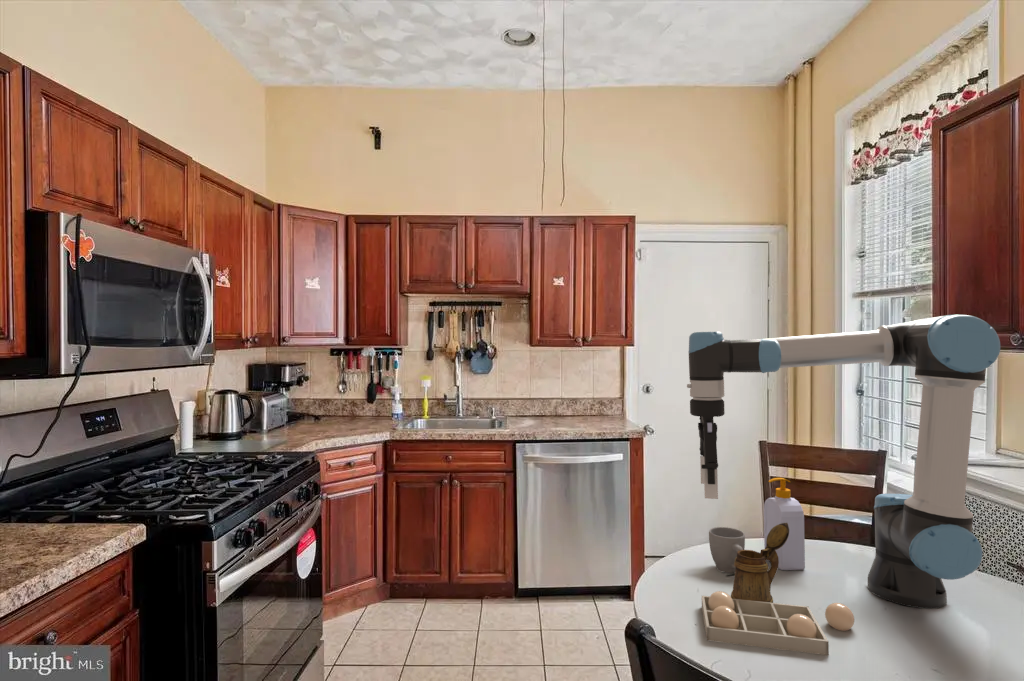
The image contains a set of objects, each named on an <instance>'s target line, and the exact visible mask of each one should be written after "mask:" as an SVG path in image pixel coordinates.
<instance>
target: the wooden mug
mask: <svg viewBox="0 0 1024 681" xmlns="http://www.w3.org/2000/svg"><path fill="white" fill-rule="evenodd" d="M788 536H789V526H788V523H781V524H778V525H776V526H775V527H773V528H772V529H771V530H770V532H769V534H768V536H767V541H766V548H765V547H764V548H763V549H761V550H760V552H758V551H756V550H752V549H744V550H739V551H738V552H737V557H736V558H735V562H734V566H735V573H734V578H733V585H732V591H731V593H730V597H731V598H732V599H741V600H750V601H760V602H770V603H774V598H773V596H772V594H771V587H772V582H773V580H774V578H775V576H776V574H777V572H778V570H779V568H778V564H779V560H778V555H777V553H776V551H775V550H777V549H779V548H781V547H782V546H783V545H784V544H785V542H786V541H787V539H788ZM768 560H769V561H768ZM767 562H770V567H769V564H768V563H767Z"/></svg>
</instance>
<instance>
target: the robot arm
mask: <svg viewBox="0 0 1024 681" xmlns="http://www.w3.org/2000/svg"><path fill="white" fill-rule="evenodd" d="M724 338H725V337H724V334H723V333H722V332H721V331H697V332H695V331H694V332H692V333H691V334H690V335H689V336H688V370H689V371H688V372H689V375H688V377H689V383H687V384H686V388H687V389H690V390H689V396H690V397H691V399H690V400H689V413H690V415H691V416H694V417H699V420H700V421H699V422H697V427H698V428H697V430H698V438H699V451H700V452H699V454H700V458H699V459H700V462H699V463H700V484H701V485H702V484H704V485H703V486H704V499H711V500H718V499H719V491H718V490H719V489H718V488H719V484H718V468H719V463H718V449H717V442H718V434H717V432H718V424H717V422H714V418H716V417H717V418H718V417H719V418H720V417H722V416H725V414H726V412H725V400H723V399H722V398H724V397H725V380H724V378H725V377H724V374H725V373H728V374H729V373H762V374H765V373H776V372H779V370H780V369H783V368H784V369H785V368H801V367H802V368H803V367H816V366H817V367H818V366H819V367H821V366H838V365H839V366H840V365H851V364H852V365H853V364H854V365H855V364H871V363H879V364H881V365H882V366H883V367H893V366H900V367H901V366H902V367H913V368H914V370H915V371H914V377H915V378H916V379H917V381H919V382H920V383H921V384H922V388H921V401H920V403H921V404H920V413H919V425H918V437H917V447H916V448H917V450H916V462H915V469H914V470H915V474H914V481H913V482H914V484H913V494H906V493H905V494H904V493H881V494H878V495H876V496H875V498H874V506H873V510H874V538H875V539H874V541H875V544H874V545H875V556H874V559H873V562H872V564H871V567H870V568H869V569H870V570H869V571H868V575H867V588H868V590H869V591H870V592H871V593H872V594H874V595H875V596H878V597H879V598H881V599H884V600H886V601H889V602H892V603H894V604H898V605H902V606H907V607H912V608H913V607H914V608H918V609H919V608H920V609H936V608H941V607H944V606H946V605H947V602H948V596H947V595H948V594H947V590H946V588H945V585H944V582H943V580H949V581H951V580H959V579H963V578H965V577H967V576H968V575H971V574H972V573H974V572H975V571H976V570H977V569H978V568H979V566H980V565H981V563H982V559H983V547H982V545H981V542H980V541H979V539H978V537H977V536H975V534H974V533H973V522H974V521H973V520H974V514H973V513H972V512H971V511H970V510H969V509H968V507H967V506H966V504H965V500H966V489H967V480H968V479H967V477H968V467H969V457H970V456H969V455H970V453H969V452H970V443H971V433H972V432H971V431H972V422H973V411H974V410H973V407H974V396H975V391H976V389H977V388H979V387H980V386H981V385H983V384H984V383H985V382H986V372H987V368H989V367H991V366H992V365H993V364H994V363H995V362H996V361H997V360H998V358H999V355H1000V353H1001V341H1000V336H999V335H998V333H997V331H996V330H995V328H994V327H993V326H991V325H990V324H989V323H988V322H987V321H985V320H983V319H981V318H979V317H977V316H974V315H969V314H968V315H967V314H959V313H958V314H946V315H940V316H934V317H924V318H921V319H920V318H919V319H915V320H912V321H911V320H910V321H907V322H901V323H896V324H889V325H879V326H878V327H877V328H876V329H875V330H864V331H852V332H849V331H848V332H836V333H824V334H823V333H821V334H813V335H812V334H811V335H808V334H807V335H798V336H795V335H794V336H784V337H783V336H782V337H770V338H755V339H752V338H751V339H736V340H735V339H732V340H731V339H724Z"/></svg>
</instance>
